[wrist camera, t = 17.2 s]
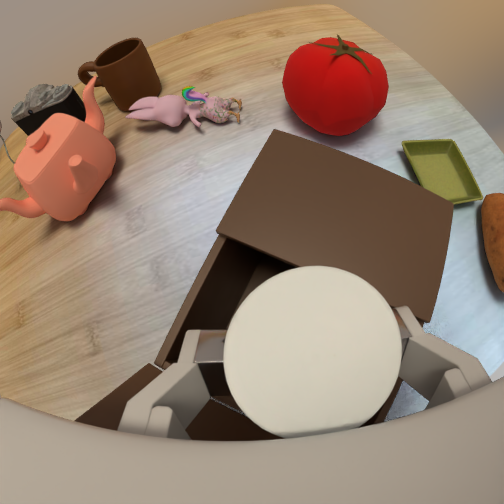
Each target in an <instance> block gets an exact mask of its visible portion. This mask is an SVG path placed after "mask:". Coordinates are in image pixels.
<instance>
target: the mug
mask: <svg viewBox="0 0 504 504" xmlns="http://www.w3.org/2000/svg"><path fill="white" fill-rule="evenodd" d="M89 71H90V72H93V71H94V72H96V73H97V75H98V77H97V78H96V81H95V85H94V87H99V86H102V87H105V88H106V90H107V92H108V93H109V95H110V96H111V98H112V99H113V101H114V103H115V104H116V106H117V107H118V108H119V109H120V110H123V111H134V110H129V108H130V107H131V106H132V105H133V104H134V103H135V102H137V101H138V100H140V99H142V98H145V97H157V95H158V94H159V92H160V89H161V83H160V80H159V78H158V75H157V73H156V71H155V68H154V66H153V63H152V61H151V59H150V56H149V54H148V52H147V50H146V48H145V46H144V44H143V42H142V41H141V39H139V38H129V39H126V40H123V41H120V42H118V43H116V44H114V45H112V46H111V47H109V48H107V49H106V50H105V51H103V52H102V53H101V54H100V55H99V56H98V57H97V58H96V60H95V61H94V62H86V63H84V64H83V65H82V66H81V67H80V68H79V70H78V77H79V79H80V80H81V81H82V82H83V83H84V84H85V85H87V84H88V82H89V81H90V80H91V79H92V78H93V76H91V75H90V74H89V73H88V72H89Z"/></svg>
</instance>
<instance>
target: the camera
mask: <svg viewBox="0 0 504 504" xmlns="http://www.w3.org/2000/svg"><path fill="white" fill-rule="evenodd" d="M55 113H64V114H67V115H70V116H73V117H75V118H77V119H79V120H81V121H83V122H85V119H86V108H85V105H84V103H83V101H82V100H81V98H80V97H79V96H78V94H77V93H76V91H75V90H74V89H73V87H72V86H69V85H67V84H65V85H62V86H59V87H58V86H57V87H54V86H53V85H48V84H42V85H38V86H36V87H33V88H32V89H30V90H29V92H28V94H27V95H26V97H25V102H19V103H18V104H17V105H16V106H15V107H14V108H13V110H12V112H11V114H12V116H11V119H12V120H13V121H14V122H15V123H16V124H17V125H18V126H19V127H20V128H21V129H22V130H23V131H24V132H25V133H26V134H27V135H28V136H29V135H30V134H32V133H34V132H35V131H36V130H38V129H39V128H40V127H41V126H42V124H43V123H44V122H45V121H46V120H47V119H48V118H49V117H51V116H52V115H53V114H55Z"/></svg>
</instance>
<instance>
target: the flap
mask: <svg viewBox="0 0 504 504" xmlns="http://www.w3.org/2000/svg"><path fill="white" fill-rule="evenodd" d="M162 372H163V371H161V370H159V369H158V368H156V367H155V366H153V365H151V364H150V363H148V364H147V365H146V366H144V367H143V368H142V369H141V370H139V371H138V372H137V373H135V374H134V375H133V376H132V377H130V378H129V379H128V380H127V381H125V382H124V383H123V384H121V385H120V386H119V387H118V388H116V389H115V390H114V391H112V392H111V393H110V394H109V395H107V396H106V397H105V398H103V399H102V400H101V401H100V402H98V403H97V404H96V405H94V406H93V407H92V408H90V409H89V410H88V411H86V412H85V413H84V414H83V415H81V416H80V417H79V418H77V419H76V420H75V421H76V422H80V423H83V424H88V425H92V426H96V427H101V428H105V429H110V430H115V431H117V430H118V427H119V424H120V421H121V418H122V415H123V413H124V410H125V407H126V404H127V402H128V401H129V400H130V399H131V398H132V397H134V396H135V395H136V394H137V393H138V392H140V391H141V390H142V389H143V388H144V387H146V386H147V385H148V384H149V383H150V382H152V381H153V380H154V379H155V378H156V377H158V376H159V375H160V374H161V373H162ZM185 431H186V432H187V434H188V435H189V437H190V438H191V440H201V441H259V440H276V439H286V438H282V437H279V436H277V435H274V434H272V433H270V432H268V431H266V430H264V429H262V428H261V427H260V426H258V425H257V424H255V423H254V422H253V421H252V420H251V419H249V418H248V417H246V416H244V415H242V414H240V413H238V412H236V411H234V410H232V409H229V408H227V407H225V406H223V405H221V404H219V403H218V402H216V401H214V400H212V399H209V401H208V402H207V403H206V404H205V406H204V407H203V408H202V409H201V411H200V412H199V413H198V414H197V416H196V417H195V418H194V419H193V420H192V422H191V423H190V424H189V425H188V426H187V428H186V429H185Z"/></svg>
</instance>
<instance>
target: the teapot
mask: <svg viewBox="0 0 504 504" xmlns="http://www.w3.org/2000/svg"><path fill="white" fill-rule="evenodd" d="M96 78H97V76H95V77H93V78H92V79H91V80H90V81H89V82H88V84H87V85H86V87H85V89H84V91H83V102H84V105H85V108H86V119H85V122H83V121H81V120H79V119H77V118H75V117H73V116H70V115H67V114H64V113H55V114H53V115H52V116H51V117H49V118H48V119H47V120H46V121H45V122H44V123H43V124H42V126H41V127H40V128H39V129H38V130H36V131H35V132H34V133H32V134H30V135H29V136H28V138H27V140H26V146H25V147H24V149H23V150H22V152H21V153H20V155H19V156H18V158H17V160H16V162H15V164H14V171H15V174H16V175H17V177H18V179H19V181H20V183H21V184H22V186H23V187H24V189H25V190H26V192H27V193H28V195H29V196H30V197H28V198H27V199H25V200H22V201H18V200H14V199H11V198H3V199H0V211H2V210H7V211H11V212H14V213H16V214H18V215H21V216H23V217H27V218H35V217H39V216H41V215H43V214H44V213H47V214H49V215H50V216H52V217H53V218H55V219H57V220H60V221H71V220H73V219H75V218H76V217H77V216H78V215H82V214H84V213H85V211H86V210H87V208H88V204H89V203H90V202H91V201H92V199H93V198H94V197H95V195H96V194H97V193H98V191H99V190H100V189H101V187H102V185H103V184H104V182H105V181H106V180H107V179H109V178H110V176H111V175H112V172H113V167H114V164H115V162H116V153H115V148H114V146H113V145H112V143H111V142H110V141H109V140H108V139H107V138H106V137H105V136H104V135H103V131H104V124H105V123H104V117H103V114H102V112H101V110H100V108H99V106H98V104H97V102H96V100H95V97H94V85H95V81H96Z"/></svg>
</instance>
